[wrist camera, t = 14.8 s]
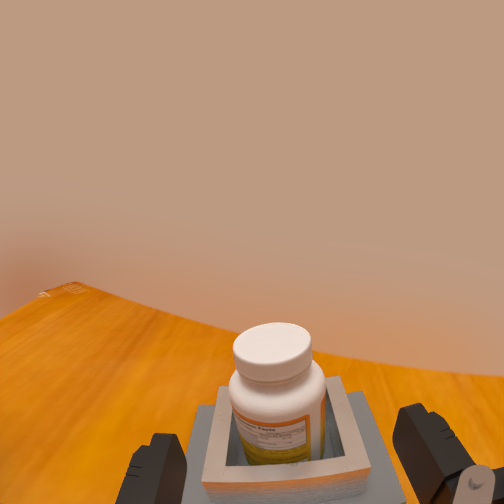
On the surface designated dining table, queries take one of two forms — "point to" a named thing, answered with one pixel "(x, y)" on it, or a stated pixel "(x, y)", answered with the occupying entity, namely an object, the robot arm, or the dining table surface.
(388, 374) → the dining table surface
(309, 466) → the socket board
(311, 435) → the supplement bottle
